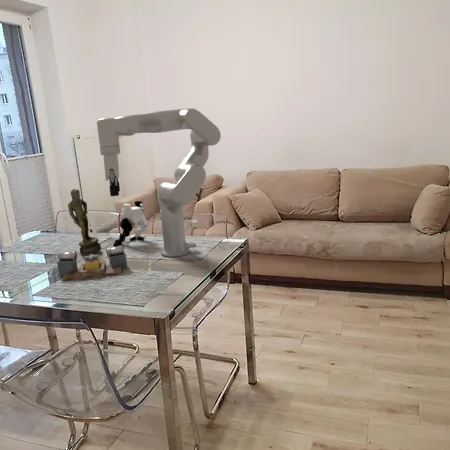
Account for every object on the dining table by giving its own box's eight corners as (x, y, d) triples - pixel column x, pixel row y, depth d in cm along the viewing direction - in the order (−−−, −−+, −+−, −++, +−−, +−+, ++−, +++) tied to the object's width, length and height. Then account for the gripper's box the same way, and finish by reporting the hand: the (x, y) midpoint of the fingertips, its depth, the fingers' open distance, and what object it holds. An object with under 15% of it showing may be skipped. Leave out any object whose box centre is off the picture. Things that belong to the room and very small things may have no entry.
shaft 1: (59, 275, 188) (55, 253, 186) (63, 272, 192) (60, 250, 190) (75, 275, 187) (72, 253, 185) (79, 271, 191) (76, 249, 189)
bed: (121, 265, 196) (121, 259, 195) (120, 274, 185) (119, 267, 184) (66, 271, 192) (65, 265, 192) (62, 281, 182) (61, 274, 181)
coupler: (87, 269, 191) (85, 255, 189) (100, 267, 191) (98, 253, 190) (86, 273, 186) (83, 258, 184) (99, 271, 187) (97, 257, 185)
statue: (96, 256, 211) (87, 190, 203) (73, 256, 213) (64, 190, 206) (106, 249, 221) (98, 185, 213) (85, 249, 223) (76, 186, 216)
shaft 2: (124, 265, 196) (122, 243, 194) (127, 268, 192) (124, 246, 190) (108, 268, 193) (105, 246, 191) (110, 271, 189) (107, 249, 187)
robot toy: (139, 235, 241) (135, 197, 236) (157, 239, 232) (153, 200, 226) (107, 245, 227) (102, 204, 222) (125, 250, 218) (121, 207, 213)
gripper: (102, 149, 191) (107, 191, 196) (98, 153, 175) (104, 198, 179) (120, 148, 193) (125, 189, 197) (119, 151, 176) (124, 196, 180)
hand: (115, 193), depth 188 cm, fingers open, 9 cm apart
